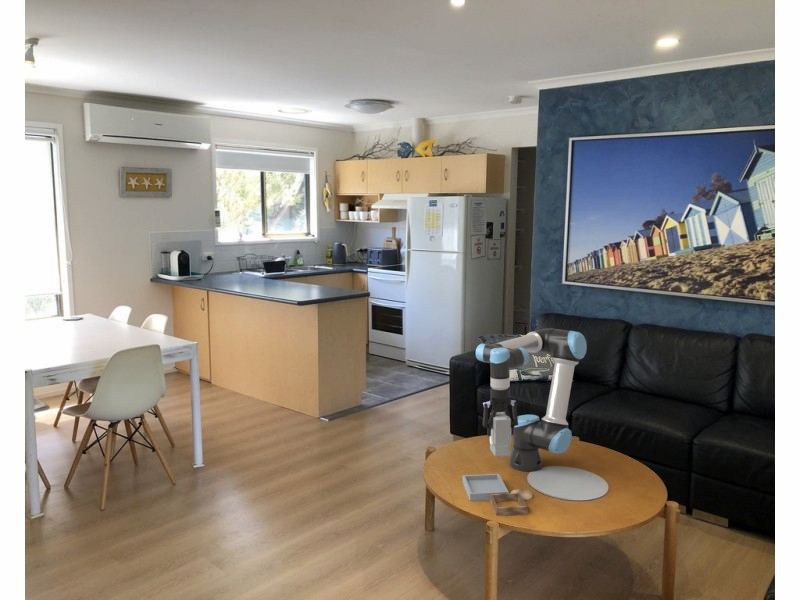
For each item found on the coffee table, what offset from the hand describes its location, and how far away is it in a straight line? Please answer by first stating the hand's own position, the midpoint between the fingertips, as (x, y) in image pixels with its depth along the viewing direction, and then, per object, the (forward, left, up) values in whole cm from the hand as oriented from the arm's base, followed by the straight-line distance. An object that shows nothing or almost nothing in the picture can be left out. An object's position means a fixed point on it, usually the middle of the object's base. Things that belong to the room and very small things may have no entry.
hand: (500, 442), depth 244 cm
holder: (-2, +6, -24) cm, 25 cm away
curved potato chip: (-10, -4, -24) cm, 27 cm away
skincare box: (0, 0, -4) cm, 4 cm away
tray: (+4, -10, -24) cm, 27 cm away
